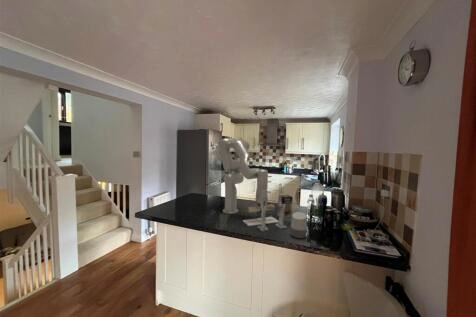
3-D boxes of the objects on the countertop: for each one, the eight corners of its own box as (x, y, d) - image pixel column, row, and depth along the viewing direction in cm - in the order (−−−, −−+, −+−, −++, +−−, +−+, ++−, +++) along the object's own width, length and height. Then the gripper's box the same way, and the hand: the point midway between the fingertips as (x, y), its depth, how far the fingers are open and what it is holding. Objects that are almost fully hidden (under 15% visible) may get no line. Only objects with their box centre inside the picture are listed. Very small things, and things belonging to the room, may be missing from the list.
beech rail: (248, 211, 145) (248, 207, 145) (272, 208, 153) (272, 204, 153) (249, 212, 142) (249, 208, 142) (274, 209, 150) (274, 205, 150)
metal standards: (257, 227, 137) (258, 203, 136) (281, 224, 144) (282, 201, 143) (261, 231, 132) (262, 206, 131) (286, 227, 139) (287, 203, 138)
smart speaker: (288, 237, 124) (289, 214, 123) (293, 232, 132) (294, 210, 131) (304, 241, 119) (305, 217, 118) (308, 235, 127) (309, 213, 126)
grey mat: (242, 221, 148) (242, 220, 148) (271, 217, 157) (271, 216, 157) (248, 226, 139) (248, 225, 139) (279, 222, 148) (279, 221, 148)
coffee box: (281, 218, 156) (282, 197, 155) (277, 215, 163) (278, 195, 162) (292, 217, 159) (292, 196, 158) (287, 214, 165) (288, 194, 164)
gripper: (252, 185, 153) (251, 209, 154) (263, 189, 138) (262, 216, 139) (261, 184, 156) (260, 208, 157) (272, 188, 141) (272, 215, 142)
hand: (261, 212), depth 148 cm, fingers closed on beech rail, 3 cm apart
